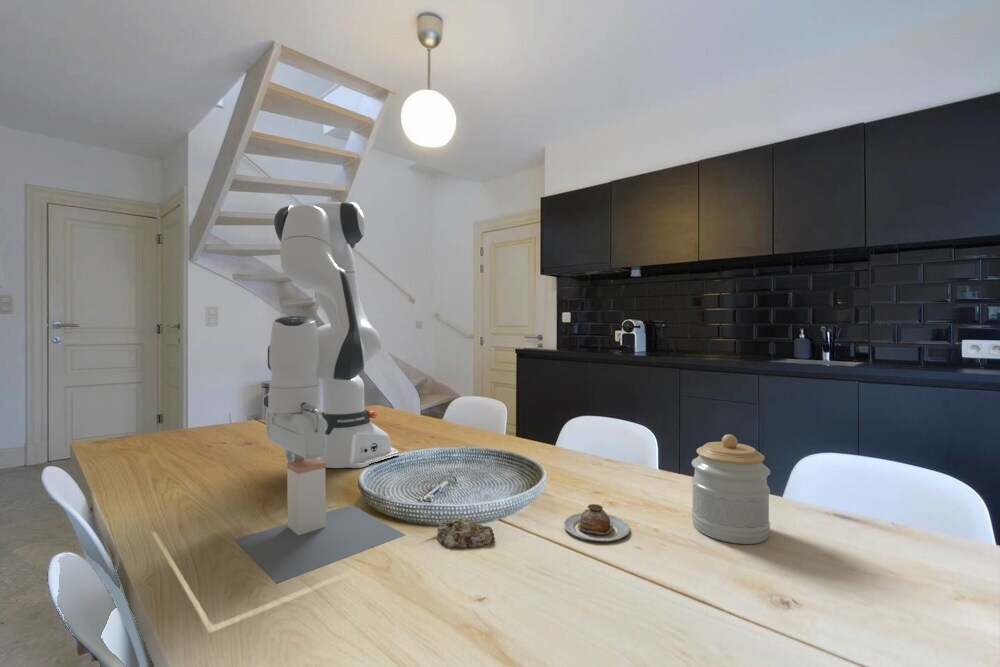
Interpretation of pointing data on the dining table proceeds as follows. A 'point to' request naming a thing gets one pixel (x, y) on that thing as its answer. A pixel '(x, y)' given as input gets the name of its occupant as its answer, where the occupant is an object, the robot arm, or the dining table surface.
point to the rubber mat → (316, 543)
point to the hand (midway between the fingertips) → (295, 472)
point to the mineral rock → (464, 533)
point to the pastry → (596, 524)
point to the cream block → (306, 495)
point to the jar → (731, 492)
